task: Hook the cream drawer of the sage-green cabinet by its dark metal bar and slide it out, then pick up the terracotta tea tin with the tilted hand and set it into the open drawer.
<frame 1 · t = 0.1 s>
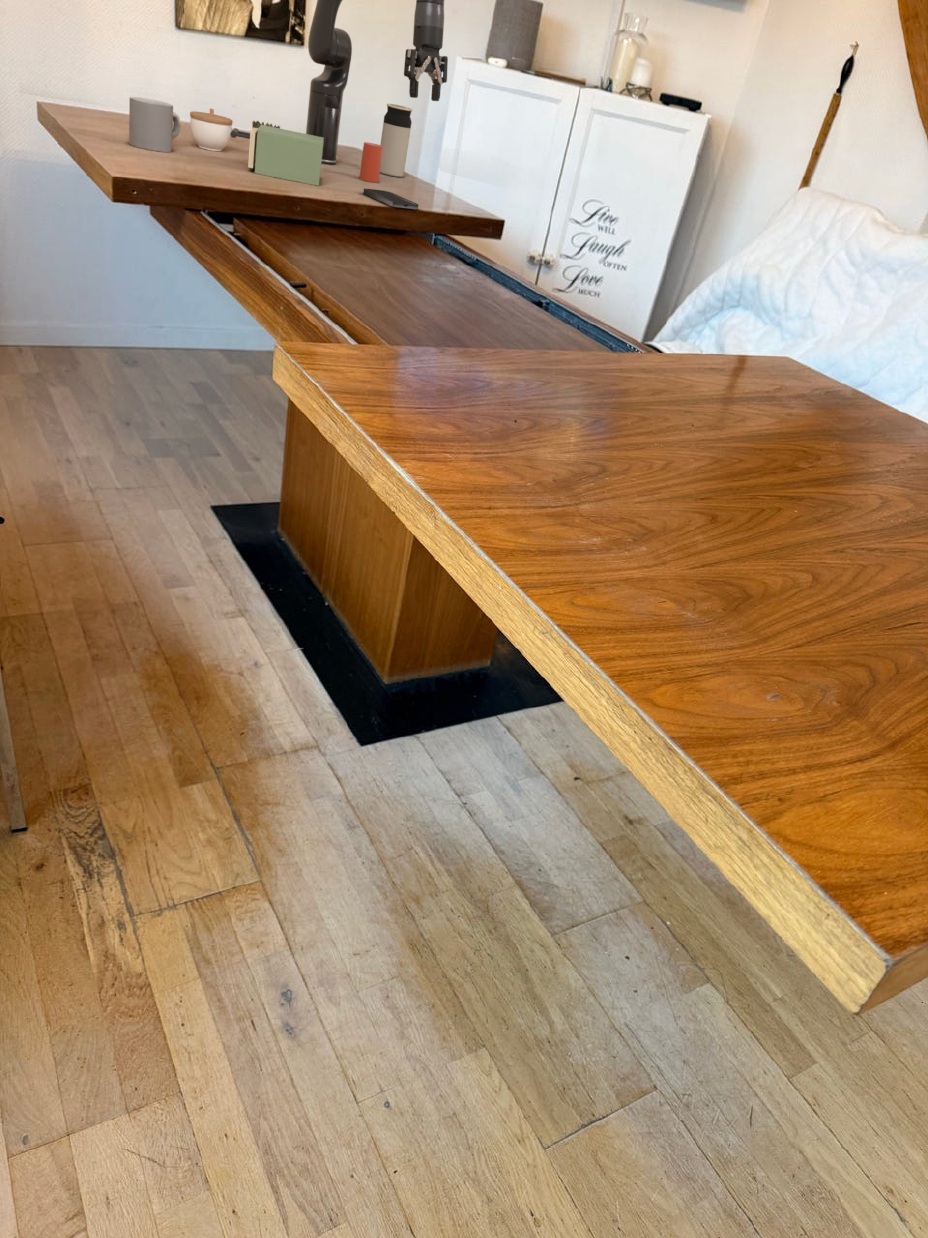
hand: (424, 99, 238), 22 cm above the table, tool pointing down, fingers open, 8 cm apart
travel mug: (390, 174, 272), on the table
cabinet: (287, 175, 230), on the table
drawer: (270, 151, 227), point 5 cm above the table, slide at 0.5 cm
coffee mug: (157, 148, 227), on the table
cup: (263, 156, 252), on the table
phone: (389, 201, 228), on the table
tea tin: (368, 180, 252), on the table
lidded white pot: (209, 149, 244), on the table
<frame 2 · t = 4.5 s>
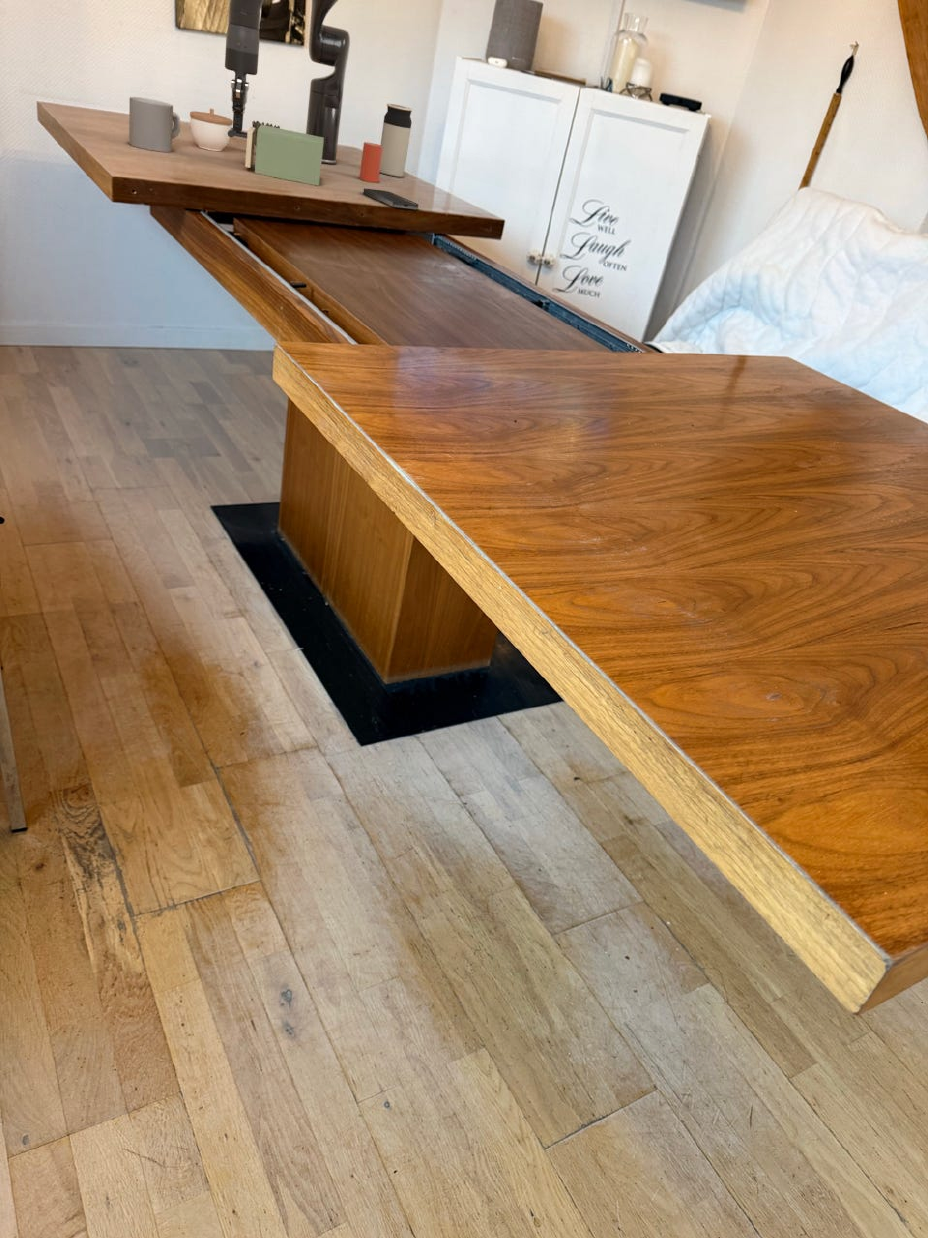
hand: (237, 130, 224), 8 cm above the table, tool pointing down, fingers closed
drawer: (268, 150, 227), point 5 cm above the table, slide at 1.2 cm, touching gripper
everything else where it was.
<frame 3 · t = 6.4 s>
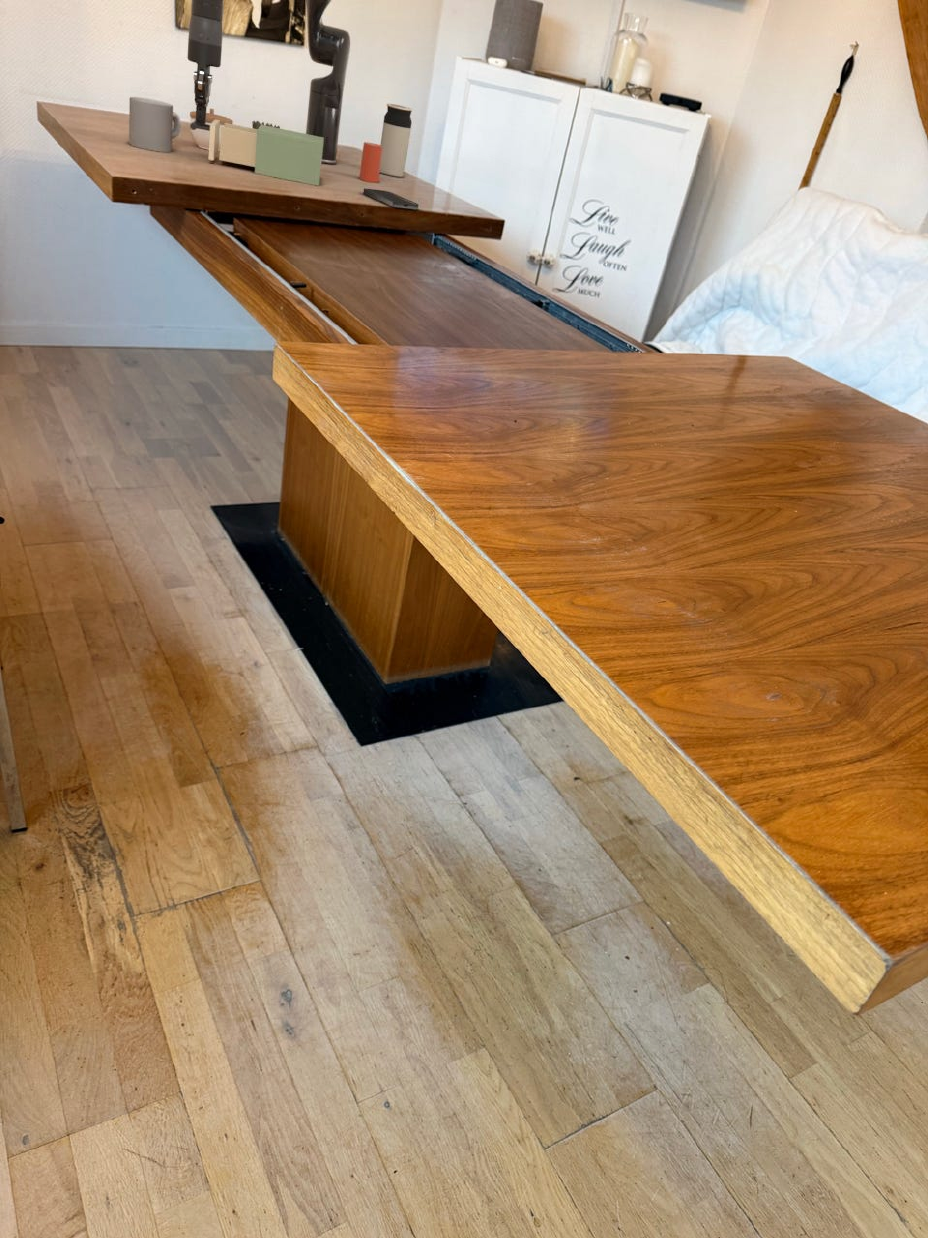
hand: (200, 123, 222), 8 cm above the table, tool pointing down, fingers closed
drawer: (232, 143, 225), point 5 cm above the table, slide at 9.9 cm, touching gripper
everything else where it was.
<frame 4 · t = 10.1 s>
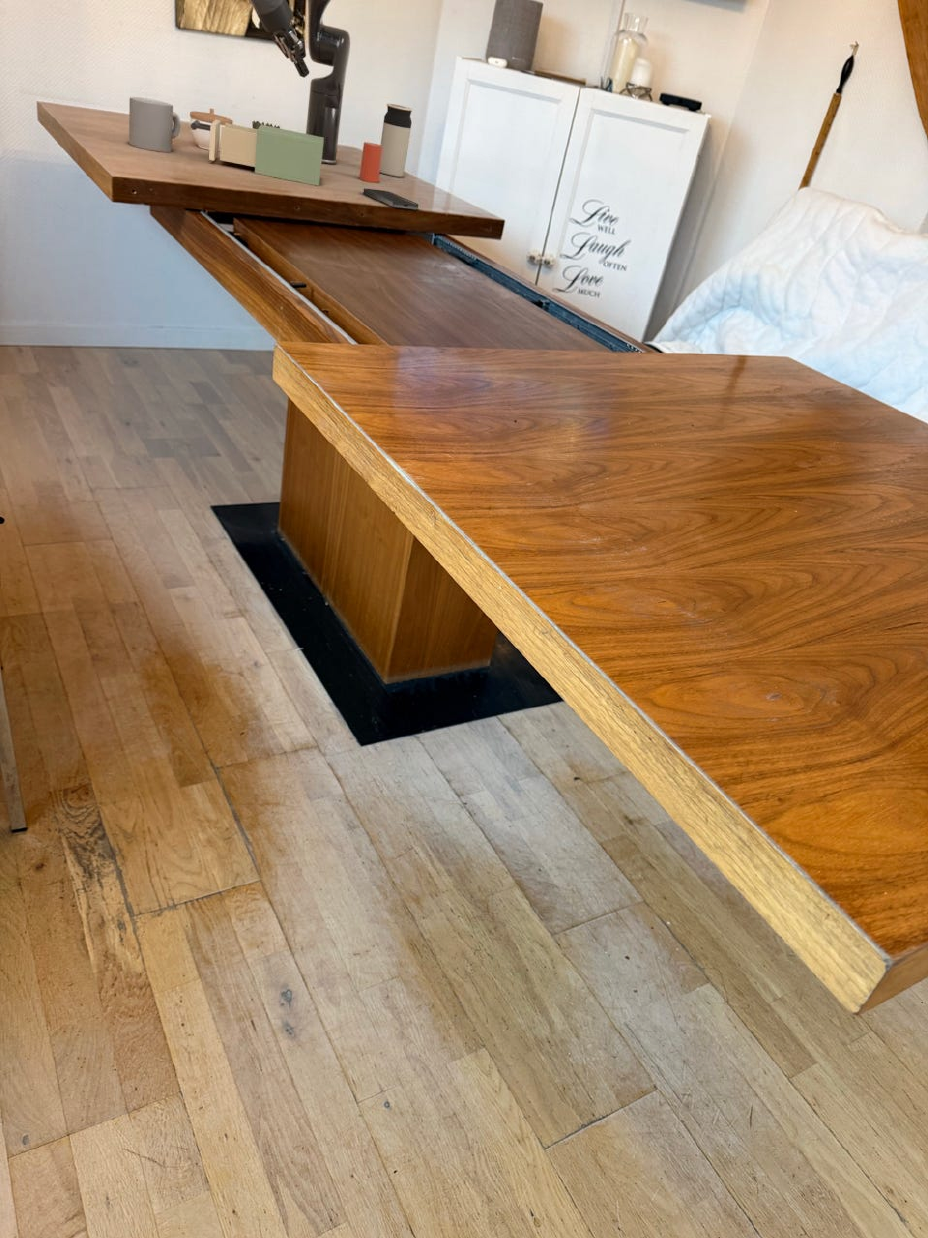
hand: (305, 74, 227), 22 cm above the table, tool tilted 40°, fingers closed
drawer: (232, 143, 225), point 5 cm above the table, slide at 9.7 cm
everything else where it was.
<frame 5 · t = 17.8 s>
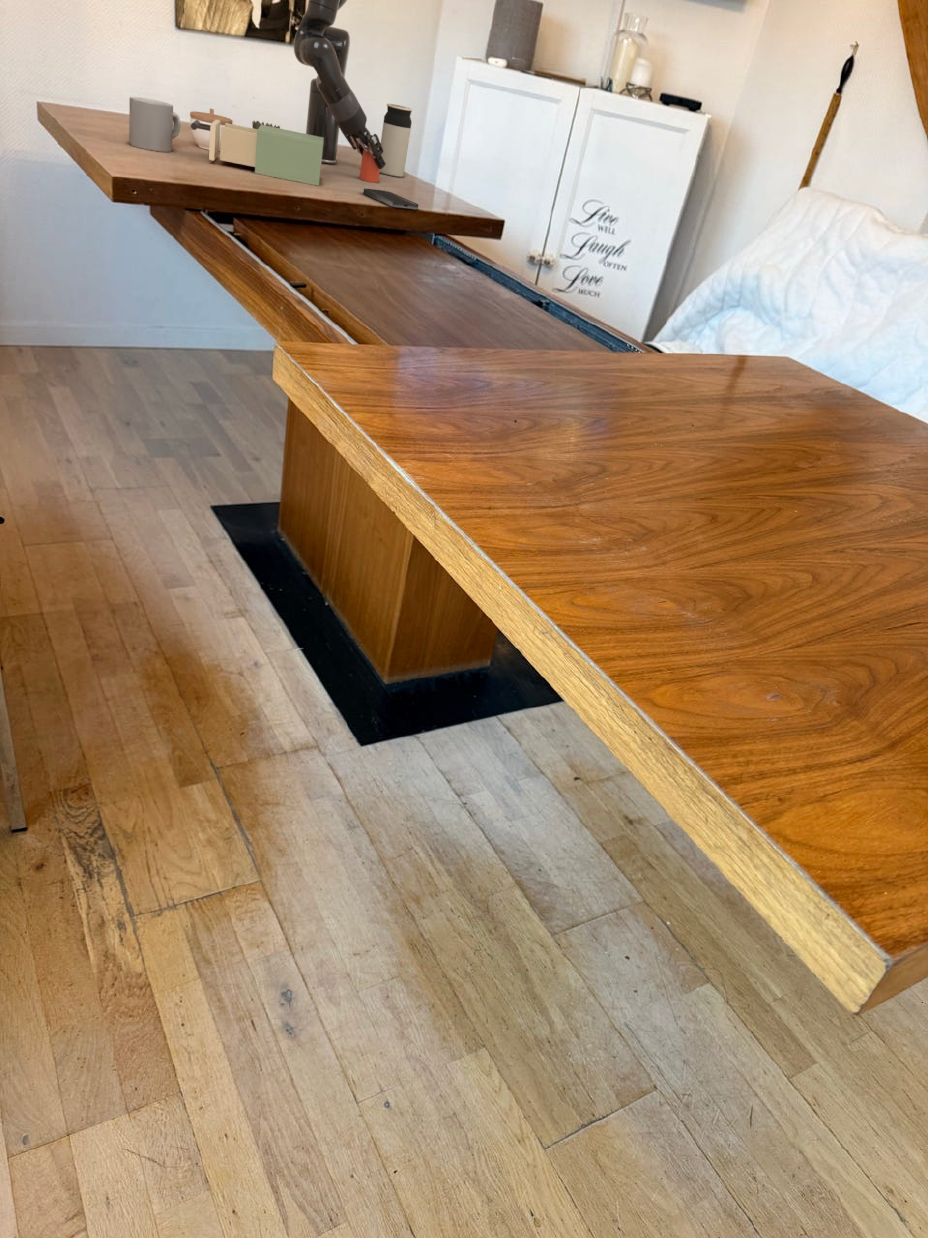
hand: (376, 164, 251), 4 cm above the table, tool tilted 45°, fingers closed on tea tin, 5 cm apart
tea tin: (368, 180, 252), on the table, touching gripper
everything else where it was.
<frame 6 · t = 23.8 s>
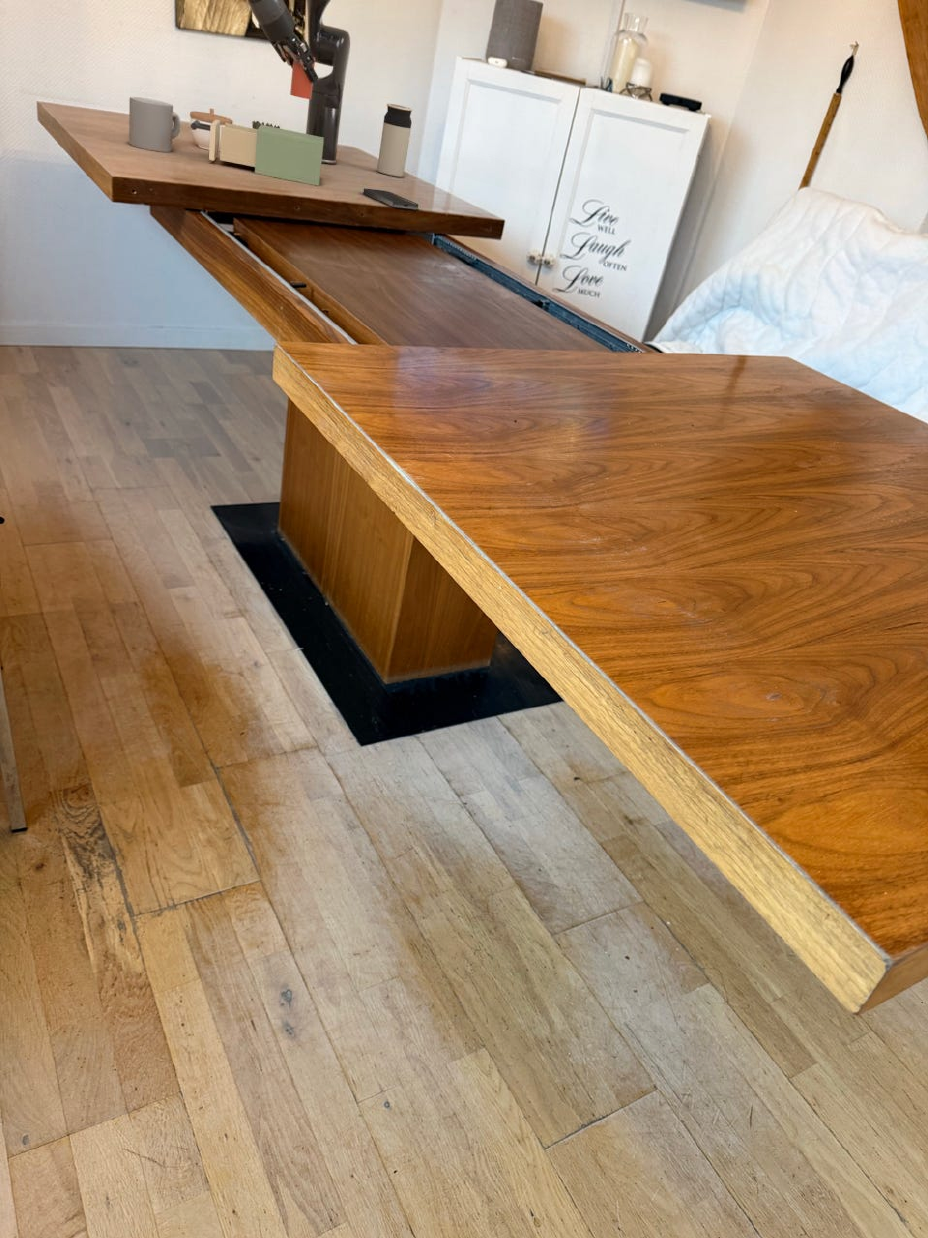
hand: (308, 78, 227), 22 cm above the table, tool tilted 45°, fingers closed on tea tin, 5 cm apart
tea tin: (300, 96, 228), point 17 cm above the table, touching gripper
everything else where it was.
when the fingers open (9 cm above the table, at t = 29.9 s): tea tin drops 3 cm, resting on drawer.
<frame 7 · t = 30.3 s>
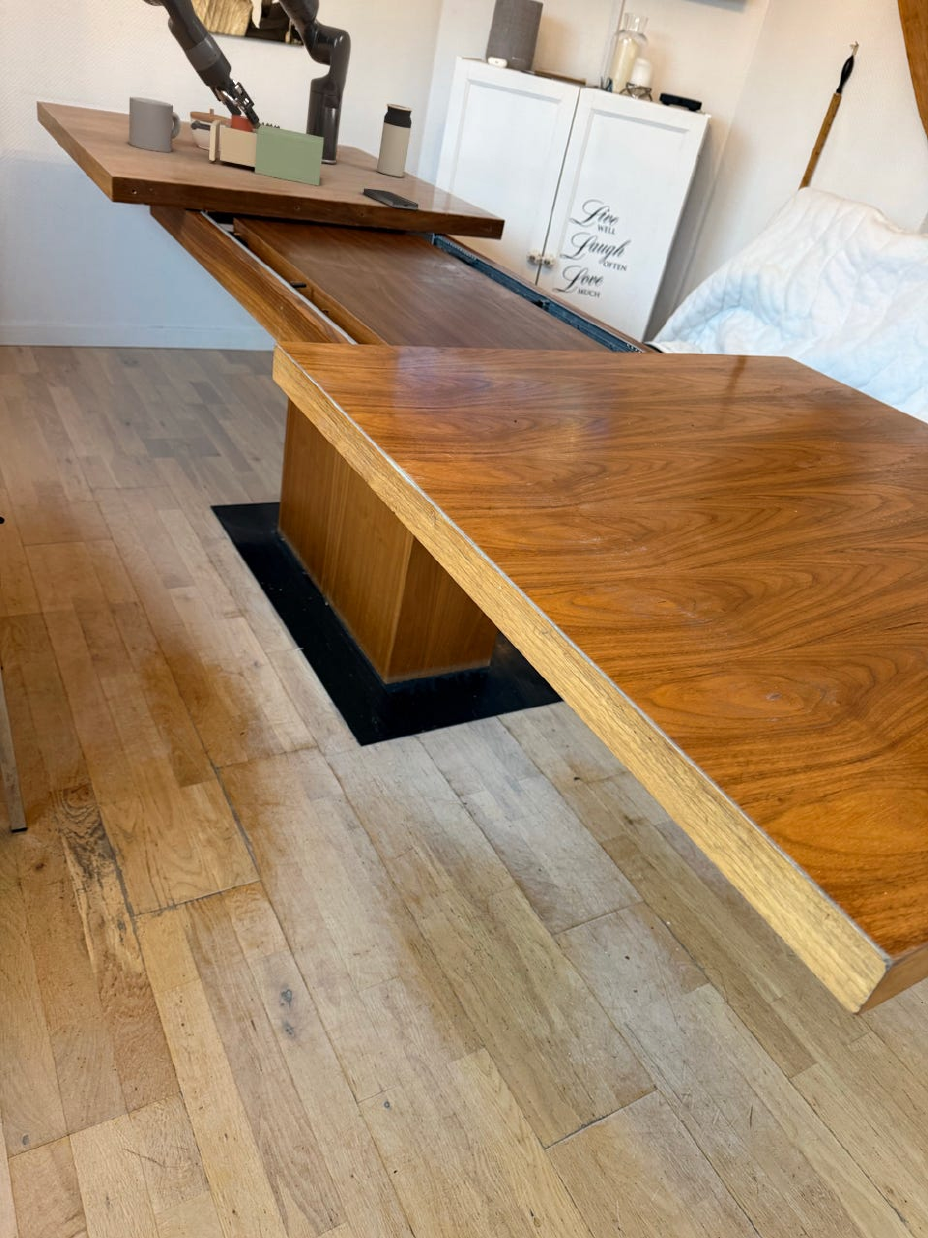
hand: (247, 119, 223), 11 cm above the table, tool tilted 45°, fingers open, 8 cm apart
drawer: (232, 143, 225), point 5 cm above the table, slide at 9.7 cm, touching tea tin
tea tin: (239, 157, 227), point 2 cm above the table, touching drawer
everything else where it was.
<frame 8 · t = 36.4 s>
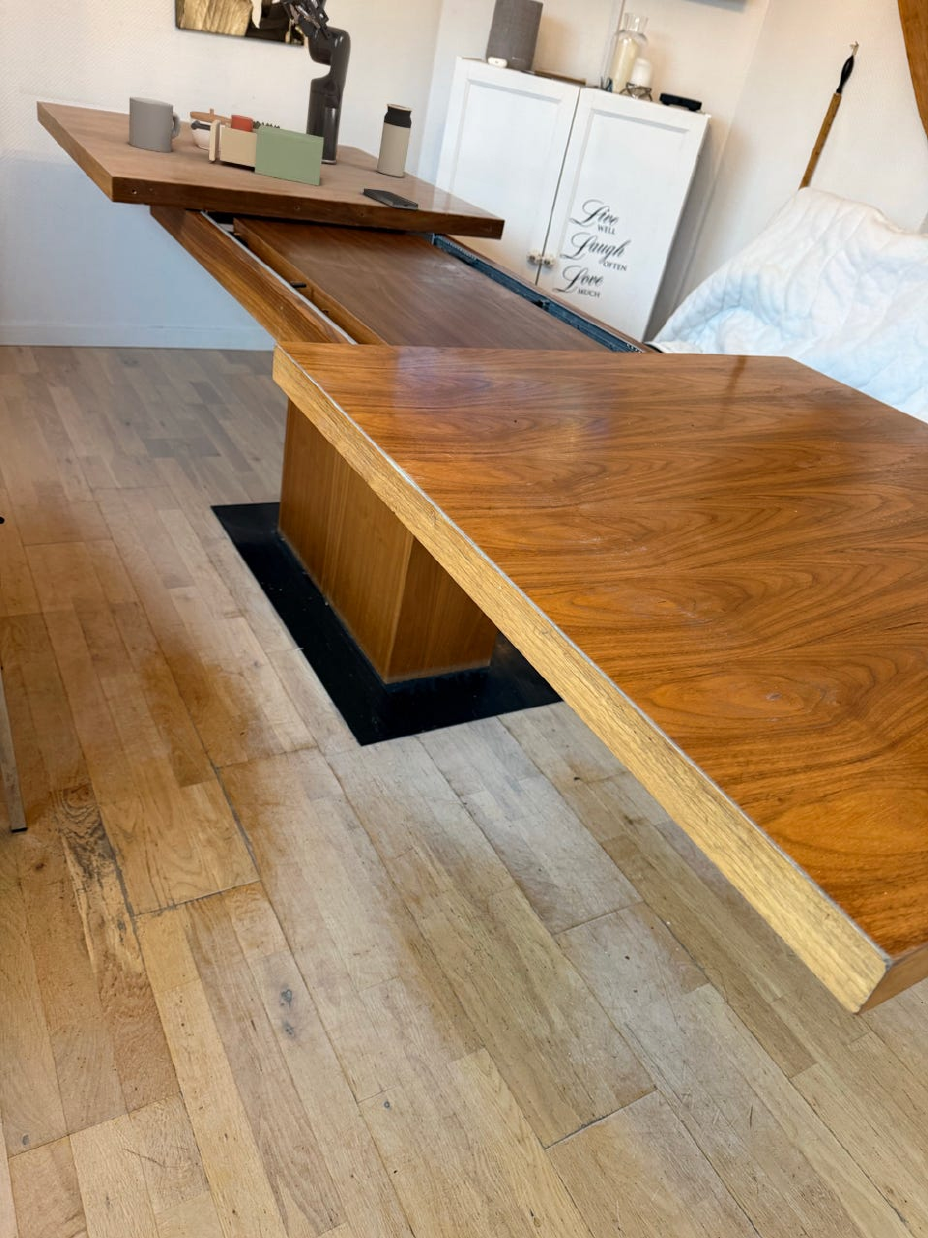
hand: (319, 37, 225), 31 cm above the table, tool tilted 45°, fingers open, 8 cm apart
nothing on the table moved.
at the end: drawer slide at 9.7 cm; tea tin inside the target area in the drawer (0.5 cm from its centre), point 2.0 cm above the cabinet's base; the gripper is holding nothing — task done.
